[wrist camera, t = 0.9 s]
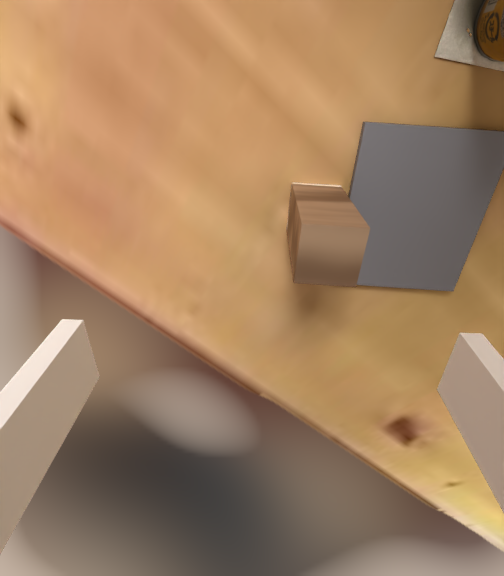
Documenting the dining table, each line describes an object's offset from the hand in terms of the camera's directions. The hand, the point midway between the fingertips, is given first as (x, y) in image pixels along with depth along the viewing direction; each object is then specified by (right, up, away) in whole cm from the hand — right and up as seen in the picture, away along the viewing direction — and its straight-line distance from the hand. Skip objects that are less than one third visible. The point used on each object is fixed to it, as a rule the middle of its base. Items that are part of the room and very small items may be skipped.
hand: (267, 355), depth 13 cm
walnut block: (+6, +11, +24) cm, 27 cm away
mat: (+16, +10, +24) cm, 31 cm away
